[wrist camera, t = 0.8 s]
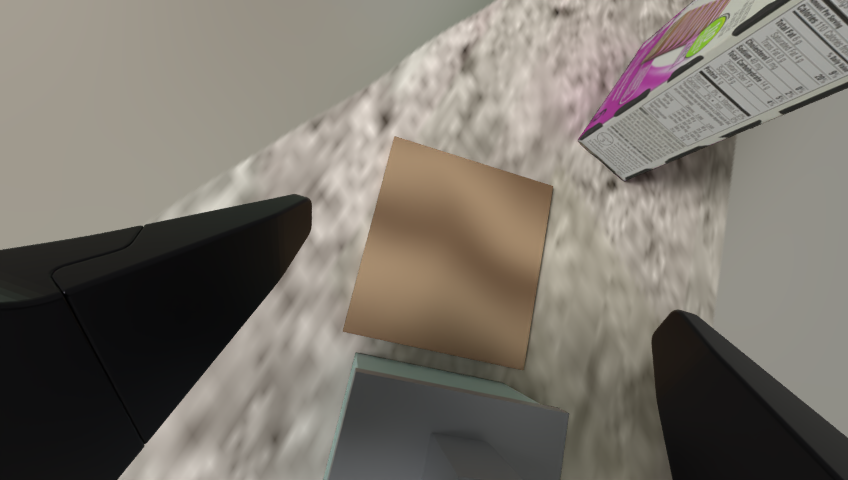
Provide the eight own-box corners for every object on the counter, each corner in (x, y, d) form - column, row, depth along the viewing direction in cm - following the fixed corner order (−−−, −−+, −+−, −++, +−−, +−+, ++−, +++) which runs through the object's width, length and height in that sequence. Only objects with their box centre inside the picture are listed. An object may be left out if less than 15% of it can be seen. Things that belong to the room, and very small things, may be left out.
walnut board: (520, 368, 22) (523, 370, 21) (342, 330, 20) (342, 331, 20) (549, 188, 24) (553, 186, 24) (393, 139, 22) (394, 136, 22)
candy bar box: (638, 41, 28) (1023, -294, 12) (685, 82, 28) (1117, -190, 12) (569, 141, 25) (952, -122, 9) (622, 185, 25) (1075, 6, 10)
